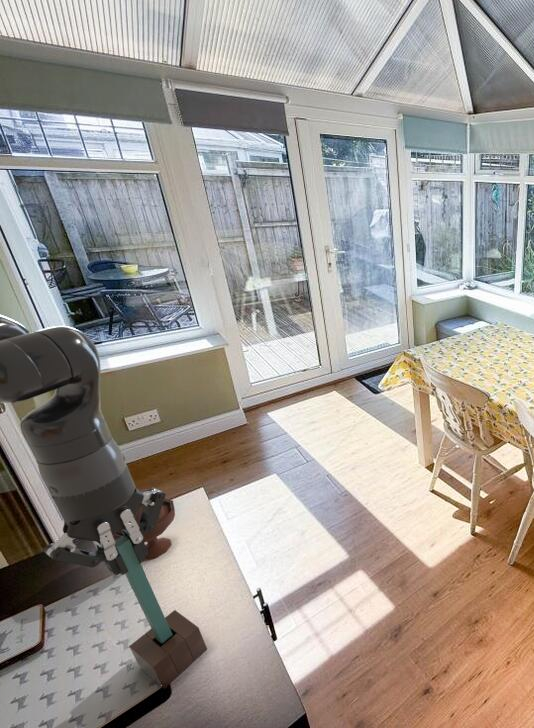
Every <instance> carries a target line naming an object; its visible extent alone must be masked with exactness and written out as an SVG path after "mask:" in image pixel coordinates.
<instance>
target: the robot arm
mask: <svg viewBox="0 0 534 728" xmlns="http://www.w3.org/2000/svg"><path fill="white" fill-rule="evenodd" d="M52 391H54V393H53V395H52V396H51V397H50V398H48V400H46V401H45V402H44V403H42V404H40V405H39V406H37V407H36V408H34V409H33V410H31V411H30V412H28V413H26V415H25V416H23V418H22V419H21V421H20V423H19V429H20V433H21V435H22V437H23V439H24V441H25V442H26V444H27V446H28V448H29V450H30V451H31V454H32V456H33V458H34V459H35V462H36V464H37V467H38V471H39V475H40V477H41V479H42V481H43V483H44V485H45V487H46V490H47V492H48V493H49V495H50V496H51V499H52V500H53V502H54V504H55V506H56V507H57V510H58V512H59V514H60V516H61V517H62V519H63V527H62V533H63V534H62V535H61V536H60V538H59V539H58V540H56V542H54V543H49V544H47V545H46V546H45V547H44V548H43V552H44V553H45V554H46V555H47V556H48V557H50V559H52V560H53V561H56V562H57V561H58V562H63V563H66V564H67V563H68V564H71V565H72V564H73V565H78V566H82V567H88V568H95V567H97V566H99V564H100V563H102V562H104V564H105V566H106V568H107V570H108V571H109V572H111V573H112V574H113V575H115V576H118V575H121V576H125V574H126V573H127V572H128V569H127V567H126V565H125V563H124V560H123V558H122V556H121V555H120V554H118V553H117V550H116V547H115V540H114V538H113V535H114V534H115V533H117V532H118V531H122V533H123V535H124V536H125V537H127V538H128V539H130V542H131V544H132V547H133V549H134V551H135V553H136V555H137V558H138V560H139V562H140V564H141V565H142V563H144V562H145V561H147V560H146V559H145V556H146V555H148V550H147V548H146V542H144V541H143V537H144V536H145V534H146V533H147V532H151V531H153V530H154V529H155V527H156V524H157V521H158V517H159V514H160V511H161V508H162V505H163V502H164V499H166V495H167V494H166V493H165V492H163V491H162V490H160V489H158V488H156V487H150V488H148V489H149V490H148V491H145V492H142V491H139V490H140V489H138V488H137V486H136V484H135V482H134V479H133V477H132V474H131V472H130V469H129V467H128V465H127V463H126V457H125V455H124V454H123V453H122V451H121V449H120V446H119V444H118V443H117V442H116V441H115V439H114V438H113V436H112V433H111V430H110V428H109V426H108V423H107V421H106V419H105V416H104V414H103V412H102V405H101V359H100V354H99V351H98V348H97V346H96V345H95V343H94V342H93V340H92V339H91V338H90V337H89V336H88V335H86V334H85V333H84V332H82V331H81V330H79V329H76V328H74V327H70V326H65V325H59V326H51V327H47V328H43V329H39V330H35V331H32V332H30V330H28V329H27V327H25V326H24V325H23V324H21V323H19V322H18V321H15V320H14V319H12V318H9V317H7V316H4V315H2V314H0V404H14V403H19V402H24V401H27V400H30V399H33V398H36V397H38V396H41V395H44V394H47V393H49V392H52ZM141 503H142V504H143V507H142V510H141V513H140V516H139V519H138V522H136V521H135V517H136V515H137V513H138V510H139V508H140V506H141ZM74 540H82V541H90V542H92V543H93V544H94V546H95V548H96V549H95V550H93V551H90V550H85V549H80V548H77V545H76V544H75V543H74Z"/></svg>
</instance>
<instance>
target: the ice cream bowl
mask: <svg viewBox="0 0 534 728" xmlns="http://www.w3.org/2000/svg"><path fill="white" fill-rule="evenodd" d="M149 489H150V488H142V489H138V490H139V491H142V492H145V491H148V490H149ZM142 507H143V504H142V503H141V506H140V508H139V510H138V513H137V515H136V517H135V521H136V522H138V519H139V516H140V513H141V510H142ZM175 516H176V510H175V504H174V500H172V499H168V498H165V499H164V502H163V505H162V508H161V511H160V514H159V517H158V521H157V524H156V527H155V529H154V530H153V531H151V532H147V533H146V534H145V536H144V537H143V541H144V543H145V545H146V548H147V550H148V555H146V556H145V559H146V560H145V561H149V560H152V559H157V558H159V557H160V556H162V555H164V554H166V553H167V552H168V550H169V549H170V548H171V546H172V540H171V539H170V538H167V537H163V536H162V537H159V536H161V535H162V534H163V533H164V532H165V531H166V530H167V529H168V528H169V526H170V525H171V524H172V523H173V521H174V519H175ZM122 536H123V533H122V531H118V532H117V533H115V534H114V535H113V538H114V541H115V540H117V539H118V538H120V537H122ZM158 537H159V538H158Z"/></svg>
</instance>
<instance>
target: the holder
mask: <svg viewBox="0 0 534 728" xmlns="http://www.w3.org/2000/svg"><path fill="white" fill-rule="evenodd" d="M164 617H165V619H166V621H167V623H168V625H169V628H170V630H171V632H172V634H173V635H172V636H171V637H170V638H168V639H167V640H166V641H165V642H164V643H161V642H159V641H158V640H157V639H156V637H155V635H154V633H153V631H152V629H151V628H150V629H149V630H148V631H146V632H145V633H144V634H142V635H141V636H140V637H139V638H138V639H136V640H135V641H133V642H132V643H131V644H130V645H129V646H128V647H129V649H130V651H131V653H132V655H133V657H134V658H135V660H136V663H137V664H138V666H139V668H140V669H141V671H143V672H144V673H145V674H146V675H147V676H148V677H150V678H151V679H152V680H153V681H154V682H155V683H157V684H158V685H159V686H160V687H161V688H162V689H163V690H164V689H166V688H167V687H168V686H169V685H170V684H171V683H172V682H173V681H175V680H176V679H177V678H178V677H179V676H180V675H181V674H182V673H184V671H186V669H187V668H189V667H190V666H191V665H192V664H193V663H194V662H195V661H196V660H197V659H199V657H200V656H202V655H203V654H204V653H205V652H206V651H207V650H208V647H207V645H206V642H205V640H204V637H203V635H202V632H201V630H200V627H199V626H197V625H196V624H195V623H193V621H190V619H188V618H187V617H185V616H184V615H182V614H181V613H180V612H178V611H177V610H176V609H174V610H173V611H171V612H170V613H169V614H167V615H166V616H164ZM161 685H162V686H161Z"/></svg>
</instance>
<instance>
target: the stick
mask: <svg viewBox="0 0 534 728" xmlns="http://www.w3.org/2000/svg"><path fill="white" fill-rule="evenodd" d="M114 541H115V547H116V550H117V553H118V554H120V555H121V556H122V558H123V560H124V563H125V565H126V567H127V569H128V572H127V573H126V574H124V576H125V577H126V579H127V582H128V583H129V585H130V587H131V589H132V591H133V593H134V596H135V598H136V600H137V601H138V603H139V606H140V608H141V611H142V612H143V614H144V616H145V618H146V620H147V622H148V625H149V627H150V629H152V631H153V633H154V635H155V637H156V639H157V640H158V641H159V642H161V643H164V642H165V641H166V640H167V639H168V638H170V637H171V636H172V635H173V634H172V632H171V630H170V628H169V625H168V623H167V621H166V619H165V617H166V616H165V614H164V612H163V610H162V608H161V605H160V603H159V601H158V599H157V597H156V594H155V593H154V589H153V588H152V586H151V584H150V581H149V579H148V577H147V575H146V573H145V570H144V568H143V566H142V563H141V564H140V562H139V560H138V558H137V555H136V553H135V551H134V549H133V547H132V544H131V542H130V539H128V538H127V537H125V536H124V535H123V536H122V537H120V538H118V539H117V540H114Z"/></svg>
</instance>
